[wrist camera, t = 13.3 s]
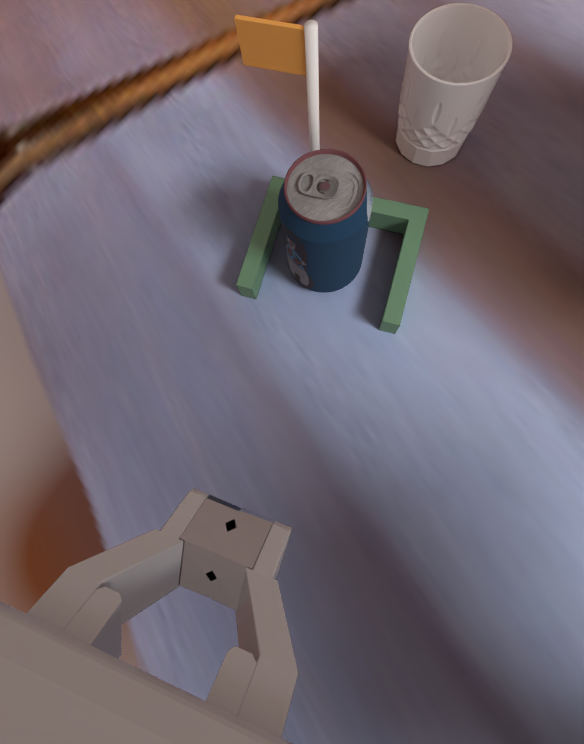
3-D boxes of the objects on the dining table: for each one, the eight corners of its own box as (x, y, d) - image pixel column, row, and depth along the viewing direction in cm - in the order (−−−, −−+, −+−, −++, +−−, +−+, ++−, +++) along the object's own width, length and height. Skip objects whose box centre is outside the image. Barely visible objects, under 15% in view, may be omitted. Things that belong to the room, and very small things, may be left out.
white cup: (419, 186, 42) (448, 102, 32) (374, 130, 43) (389, 34, 33) (485, 146, 42) (534, 51, 32) (437, 92, 44) (471, -14, 34)
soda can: (368, 240, 41) (386, 151, 29) (350, 305, 40) (361, 240, 28) (300, 224, 42) (290, 132, 30) (280, 288, 40) (262, 218, 29)
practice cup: (422, 223, 41) (498, 43, 23) (395, 333, 39) (454, 228, 21) (273, 191, 43) (238, 3, 25) (239, 294, 41) (175, 168, 23)
